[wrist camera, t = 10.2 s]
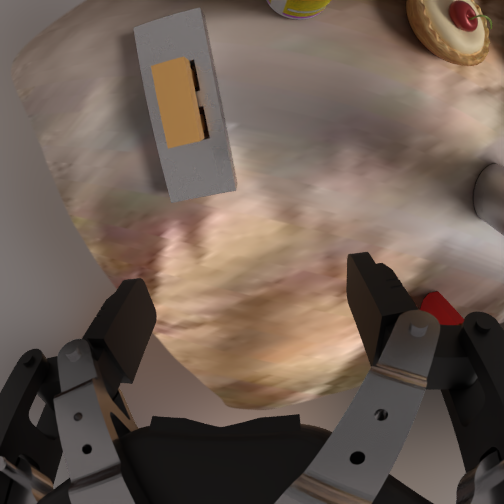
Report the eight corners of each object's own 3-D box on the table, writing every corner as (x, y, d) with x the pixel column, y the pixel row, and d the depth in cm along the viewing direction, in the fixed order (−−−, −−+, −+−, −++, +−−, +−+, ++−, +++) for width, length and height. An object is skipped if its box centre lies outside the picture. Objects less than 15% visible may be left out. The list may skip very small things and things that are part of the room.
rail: (204, 15, 22) (200, 7, 20) (237, 183, 32) (235, 190, 29) (143, 33, 23) (133, 27, 20) (177, 194, 32) (171, 203, 30)
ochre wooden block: (196, 65, 25) (183, 56, 20) (210, 134, 29) (200, 141, 24) (169, 72, 26) (150, 66, 20) (183, 140, 29) (167, 148, 24)
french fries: (431, 322, 43) (460, 371, 32) (414, 326, 43) (441, 378, 33) (444, 283, 39) (482, 332, 28) (426, 286, 39) (462, 338, 28)
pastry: (388, -22, 19) (420, -48, 11) (460, 0, 18) (498, -13, 10) (406, 59, 24) (447, 48, 16) (475, 74, 23) (519, 74, 15)
